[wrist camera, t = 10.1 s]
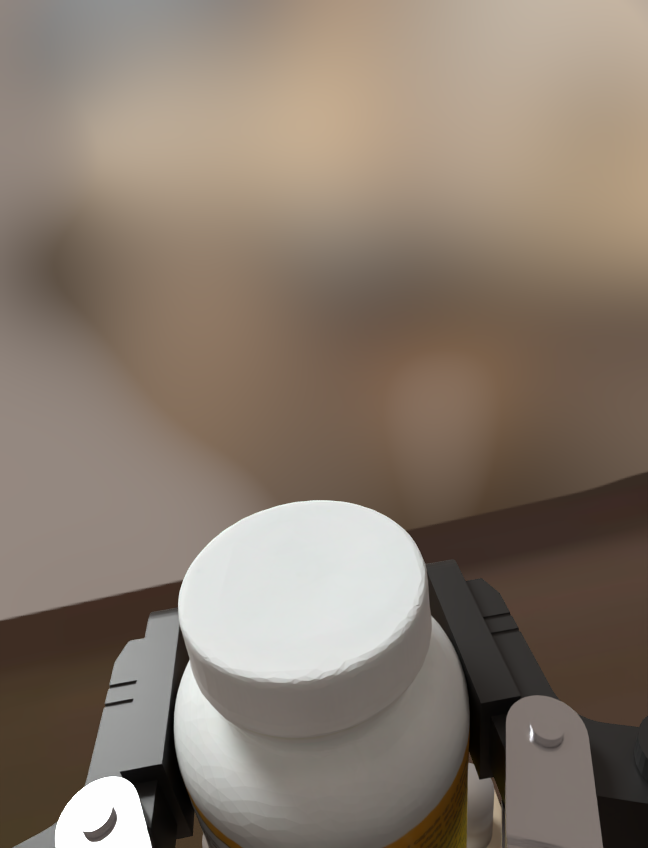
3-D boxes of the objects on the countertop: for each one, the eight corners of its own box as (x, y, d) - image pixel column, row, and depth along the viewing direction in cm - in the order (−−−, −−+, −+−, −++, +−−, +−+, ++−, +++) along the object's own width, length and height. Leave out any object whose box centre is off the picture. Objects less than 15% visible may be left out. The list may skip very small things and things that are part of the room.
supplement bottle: (202, 986, 12) (48, 693, 8) (281, 745, 17) (213, 471, 12) (462, 1071, 11) (461, 770, 6) (472, 781, 15) (476, 484, 11)
